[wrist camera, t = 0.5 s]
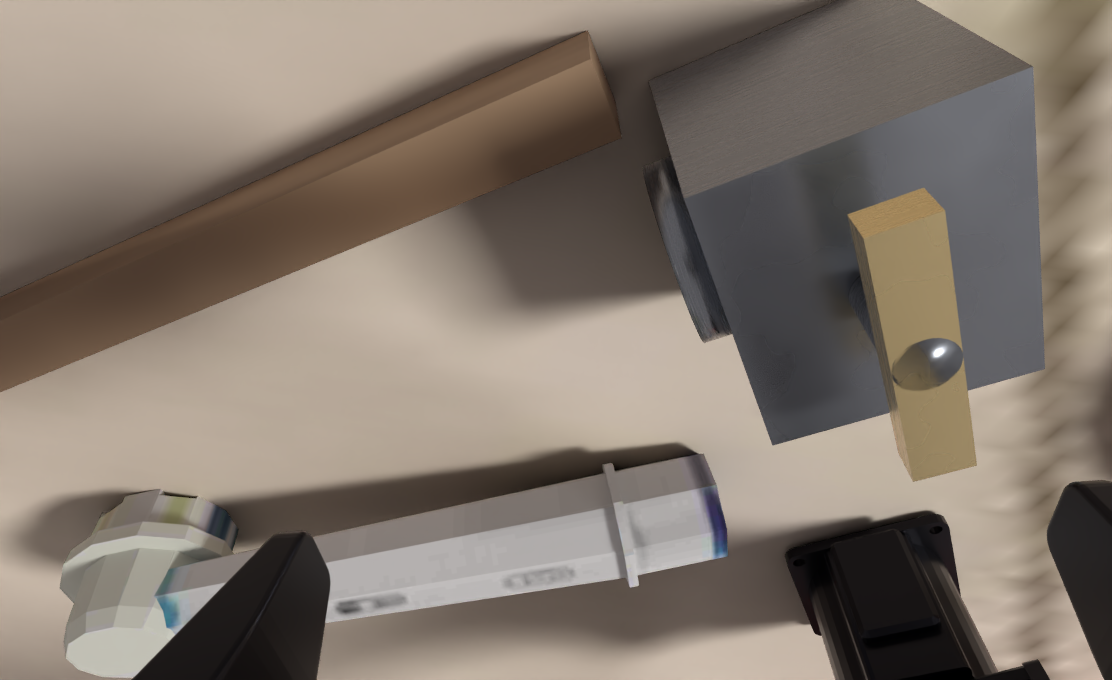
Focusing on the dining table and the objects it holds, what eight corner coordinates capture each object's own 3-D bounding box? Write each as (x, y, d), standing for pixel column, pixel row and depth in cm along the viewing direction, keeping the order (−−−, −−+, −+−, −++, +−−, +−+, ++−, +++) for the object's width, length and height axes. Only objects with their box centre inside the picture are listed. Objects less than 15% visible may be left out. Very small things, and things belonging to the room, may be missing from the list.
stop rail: (615, 102, 19) (621, 138, 17) (-104, 407, 26) (-159, 457, 24) (587, 30, 18) (590, 59, 16) (-156, 367, 25) (-218, 417, 23)
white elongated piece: (731, 594, 26) (63, 735, 26) (682, 464, 32) (128, 581, 32) (728, 500, 23) (-28, 659, 23) (675, 374, 29) (61, 502, 29)
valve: (918, 219, 21) (1112, 448, 14) (697, 295, 23) (761, 536, 15) (882, -19, 17) (1123, 118, 10) (619, 92, 19) (656, 282, 12)
